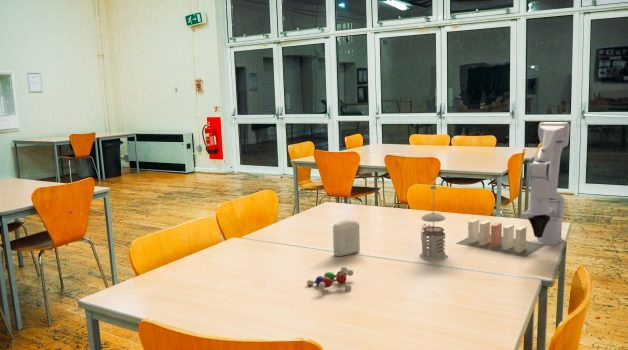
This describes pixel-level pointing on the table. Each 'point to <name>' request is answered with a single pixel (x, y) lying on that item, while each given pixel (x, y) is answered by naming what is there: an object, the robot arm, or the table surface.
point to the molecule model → (330, 278)
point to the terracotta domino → (496, 234)
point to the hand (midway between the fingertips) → (538, 236)
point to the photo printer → (346, 237)
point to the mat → (530, 249)
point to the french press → (436, 241)
